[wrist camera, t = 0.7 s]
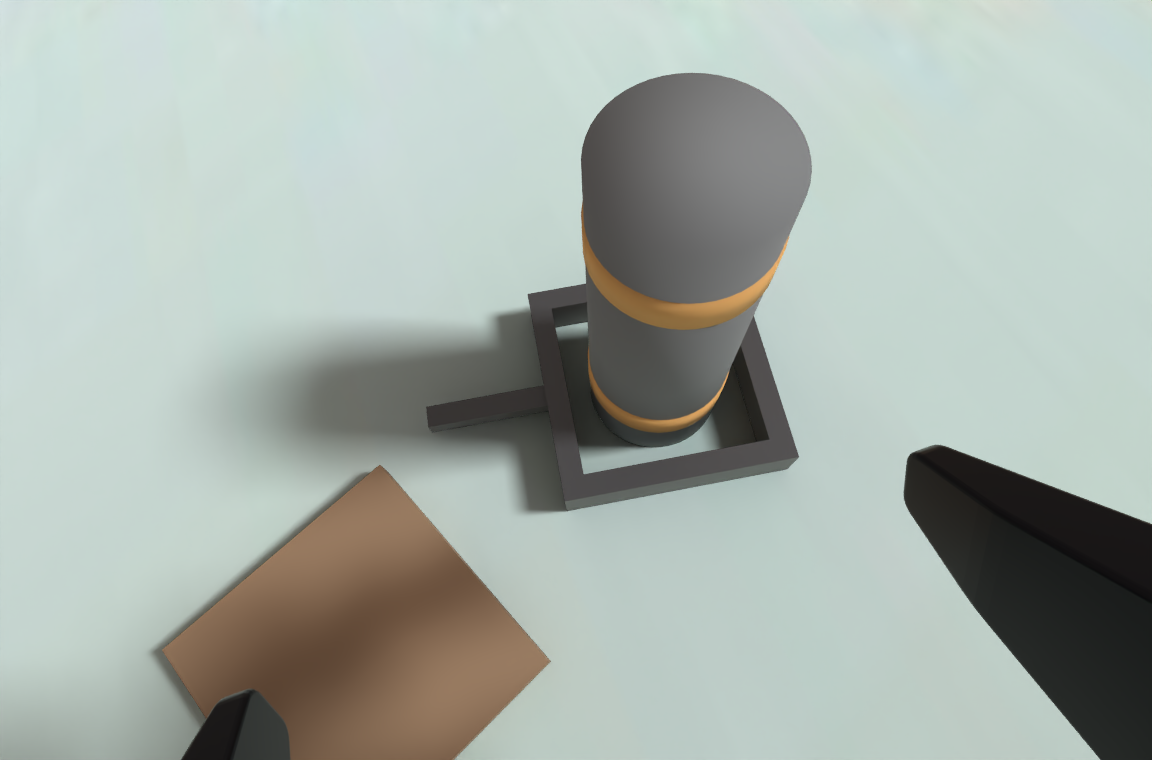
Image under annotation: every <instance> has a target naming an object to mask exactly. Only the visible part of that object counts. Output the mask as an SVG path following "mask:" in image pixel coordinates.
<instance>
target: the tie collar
mask: <svg viewBox="0 0 1152 760" xmlns="http://www.w3.org/2000/svg"><path fill="white" fill-rule="evenodd" d="M528 299H529V304H530V310H531V316H532V321H533V327H534V332H535V338H536V344H537V349H538V355H539V360H540V366H541V371H542V377H543V383H544V386H538V387H533V388H527V389H522V390H516V391H511V392H505V393H500V394H494V395H489V396H483V397H478V398H473V399H467V400H462V401H456V402H451V403H445V404H440V405H434V406H429V407H426V408H427V418H428V427H429V429H430V430H431V431H432V432H437V431H442V430H448V429H453V428H459V427H464V426H469V425H475V424H480V423H486V422H491V421H496V420H502V419H507V418H513V417H518V416H524V415H529V414H534V413H540V412H545V411H549V416H550V422H551V427H552V433H553V439H554V444H555V450H556V455H557V461H558V467H559V472H560V478H561V483H562V489H563V495H564V500H565V505H566V509H567V511H570V510H575V509H580V508H586V507H591V506H596V505H601V504H607V503H612V502H617V501H622V500H628V499H633V498H638V497H643V496H649V495H654V494H659V493H664V492H670V491H675V490H680V489H685V488H691V487H696V486H701V485H706V484H712V483H717V482H722V481H727V480H733V479H738V478H743V477H748V476H754V475H759V474H764V473H769V472H775V471H780V470H785V469H788V468H789V467H790V466H791V465H792V464H793V463H794V462H795V461H796V460H797V459H798V458H799V456H798V452H797V449H796V446H795V443H794V440H793V437H792V434H791V431H790V428H789V424H788V421H787V418H786V415H785V412H784V409H783V406H782V403H781V400H780V396H779V393H778V390H777V387H776V384H775V381H774V378H773V375H772V371H771V368H770V365H769V362H768V359H767V356H766V353H765V350H764V347H763V343H762V340H761V337H760V334H759V331H758V328H757V325H756V322H755V318H754V315H753V318H752V320H751V322H750V325H749V327H748V329H747V331H746V334H745V336H744V338H743V340H742V343H741V345H740V347H739V349H738V352H737V354H736V356H735V358H734V361H733V364H734V368H735V371H736V374H737V378H738V381H739V384H740V388H741V391H742V395H743V398H744V401H745V405H746V408H747V411H748V415H749V418H750V421H751V425H752V428H753V431H754V435H755V438H756V441H757V442H754V443H749V444H743V445H738V446H733V447H727V448H722V449H717V450H711V451H706V452H701V453H696V454H690V455H685V456H680V457H674V458H669V459H664V460H658V461H653V462H648V463H643V464H637V465H632V466H627V467H621V468H616V469H611V470H605V471H600V472H595V473H590V474H583V469H582V464H581V459H580V454H579V448H578V443H577V438H576V433H575V428H574V422H573V417H572V412H571V407H570V402H569V396H568V391H567V386H566V381H565V376H564V371H563V365H562V360H561V355H560V350H559V345H558V339H557V334H556V329H555V327H559V326H565V325H570V324H576V323H581V322H587V321H588V313H587V289H586V284H582V285H576V286H571V287H565V288H559V289H554V290H548V291H542V292H537V293H531V294H528Z"/></svg>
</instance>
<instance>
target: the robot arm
mask: <svg viewBox="0 0 1152 760" xmlns="http://www.w3.org/2000/svg"><path fill="white" fill-rule="evenodd" d="M904 500H905V504H906V506H907V508H908V510H909V512H910V514H911V515H912V517H913V518H914V520H915V521H916V523H917V524H918V526H919V527H920V529H921V530H922V532H923V533H924V535H925V536H926V537H927V539H928V540H929V542H930V543H931V545H932V546H933V548H934V549H935V551H936V552H937V554H938V555H939V557H940V558H941V560H942V561H943V563H944V564H945V566H946V567H947V569H948V570H949V572H950V573H951V575H952V576H953V578H954V579H955V581H956V582H957V584H958V585H959V587H960V588H961V590H962V591H963V592H964V594H965V595H966V597H967V598H968V599H969V601H970V602H971V604H972V605H973V606H974V608H975V609H976V610H977V611H978V613H979V614H980V615H981V616H982V618H983V619H984V620H985V621H986V623H987V624H988V625H989V626H990V627H991V629H992V630H993V631H994V632H995V633H996V635H997V636H998V637H999V638H1000V639H1001V641H1002V642H1003V643H1004V644H1005V645H1006V647H1007V648H1008V649H1009V650H1010V651H1011V653H1012V654H1013V655H1014V656H1015V657H1016V659H1017V660H1018V661H1019V662H1020V663H1021V665H1022V666H1023V667H1024V668H1025V669H1026V671H1027V672H1028V673H1029V674H1030V675H1031V677H1032V678H1033V679H1034V680H1035V682H1036V683H1037V684H1038V685H1039V686H1040V688H1041V689H1042V690H1043V691H1044V692H1045V694H1046V695H1047V696H1048V697H1049V698H1050V700H1051V701H1052V702H1053V703H1054V704H1055V706H1056V707H1057V708H1058V709H1059V710H1060V712H1061V713H1062V714H1063V715H1064V716H1065V718H1066V719H1067V720H1068V721H1069V722H1070V724H1071V725H1072V726H1073V727H1074V728H1075V730H1076V731H1077V732H1078V733H1079V734H1080V736H1081V737H1082V738H1083V739H1084V740H1085V742H1086V743H1087V744H1088V745H1089V746H1090V748H1091V749H1092V750H1093V751H1094V752H1095V754H1096V755H1097V756H1098V757H1099V758H1100V760H1152V524H1150V523H1148V522H1145V521H1142V520H1140V519H1137V518H1134V517H1132V516H1129V515H1126V514H1124V513H1121V512H1119V511H1116V510H1113V509H1111V508H1108V507H1105V506H1103V505H1100V504H1097V503H1095V502H1092V501H1089V500H1087V499H1084V498H1081V497H1079V496H1076V495H1073V494H1071V493H1068V492H1065V491H1063V490H1060V489H1057V488H1055V487H1052V486H1050V485H1047V484H1044V483H1042V482H1039V481H1036V480H1034V479H1031V478H1028V477H1026V476H1023V475H1020V474H1018V473H1015V472H1012V471H1010V470H1007V469H1004V468H1002V467H999V466H996V465H994V464H991V463H988V462H986V461H983V460H981V459H978V458H975V457H973V456H970V455H967V454H965V453H962V452H959V451H957V450H954V449H951V448H949V447H946V446H942V445H933V446H929V447H927V448H924V449H921V450H918V451H915V452H913V453H911V454H910V456H909V457H908V459H907V465H906V475H905V485H904ZM181 760H291V757H290V741H289V733H288V729H287V726H286V724H285V721H284V720H283V718H282V717H281V716H280V715H279V714H278V713H277V711H276V710H275V709H274V708H273V707H272V706H271V705H270V703H269V702H268V701H267V700H266V699H265V698H264V697H263V696H262V694H261V693H260V692H259V691H257V690H255V689H252V688H251V689H246V690H243V691H240V692H238V693H235V694H232V695H229V696H226V697H224V698H222V699H221V700H220V701H218V703H217V704H216V705H215V706H214V707H213V709H212V710H211V712H210V714H209V715H208V717H207V718H206V720H205V722H204V723H203V725H202V727H201V728H200V730H199V731H198V733H197V735H196V736H195V738H194V739H193V741H192V743H191V744H190V746H189V747H188V749H187V751H186V752H185V754H184V755H183V757H182V759H181Z"/></svg>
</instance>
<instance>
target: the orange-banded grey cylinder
mask: <svg viewBox="0 0 1152 760" xmlns="http://www.w3.org/2000/svg"><path fill="white" fill-rule="evenodd" d="M581 169H582V193H583V202H582V211H581V219H582V241H583V255H584V260H585V265H586V289H587V313H588V337H589V346H588V370H589V379H590V385H591V397H592V402H593V405H594V408H595V410H596V412H597V414H598V416H599V418H600V419H601V420H602V422H603V423H604V424H605V425H606V427H607V428H608V429H609V430H611V431H612V432H613V433H614V434H616V435H617V436H619V437H620V438H622V439H624V440H626V441H628V442H630V443H633V444H636V445H641V446H646V447H663V446H669V445H673V444H676V443H679V442H681V441H683V440H685V439H687V438H688V437H690V436H692V435H693V434H694V433H695V432H697V431H698V430H699V429H700V428H701V427H702V425H703V424H704V423H705V421H706V420H707V418H708V417H709V415H710V413H711V410H712V408H713V406H714V405H715V403H716V402H717V400H718V398H719V396H720V394H721V391H722V389H723V387H724V385H725V382H726V380H727V377H728V374H729V370H730V367H731V365H732V363H733V361H734V358H735V356H736V354H737V352H738V349H739V347H740V345H741V343H742V340H743V338H744V336H745V334H746V331H747V329H748V327H749V325H750V322H751V320H752V318H753V315H754V313H755V311H756V309H757V306H758V304H759V302H760V300H761V297H762V295H763V293H764V292H765V290H766V289H767V287H768V286H769V284H770V282H771V280H772V277H773V275H774V273H775V271H776V269H777V266H778V264H779V262H780V260H781V258H782V255H783V253H784V251H785V249H786V246H787V242H788V239H789V234H790V232H791V230H792V227H793V225H794V223H795V221H796V218H797V216H798V214H799V212H800V209H801V207H802V205H803V202H804V200H805V198H806V196H807V193H808V189H809V186H810V181H811V173H812V166H811V156H810V151H809V147H808V144H807V141H806V139H805V136H804V134H803V132H802V131H801V129H800V127H799V125H798V124H797V122H796V121H795V120H794V119H793V117H792V116H791V115H790V114H789V113H788V112H787V110H786V109H785V108H784V107H783V106H782V105H780V104H779V103H778V102H777V101H775V100H774V99H773V98H772V97H770V96H769V95H767V94H765V93H764V92H762V91H760V90H759V89H757V88H755V87H753V86H750V85H748V84H746V83H743V82H741V81H738V80H735V79H732V78H727V77H723V76H719V75H712V74H704V73H681V74H672V75H666V76H661V77H657V78H654V79H650V80H647V81H645V82H642V83H639V84H637V85H635V86H633V87H631V88H629V89H627V90H625V91H624V92H622V93H621V94H619V95H618V96H616V97H615V98H614V99H613V100H612V101H610V102H609V103H608V104H607V105H606V106H605V107H604V108H603V109H602V110H601V111H600V113H599V114H598V115H597V116H596V118H595V119H594V121H593V122H592V124H591V125H590V128H589V130H588V132H587V134H586V137H585V140H584V144H583V147H582V156H581Z"/></svg>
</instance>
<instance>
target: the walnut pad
mask: <svg viewBox="0 0 1152 760" xmlns="http://www.w3.org/2000/svg"><path fill="white" fill-rule="evenodd" d="M162 651H163V652H164V654H165V656H166V657H167V659H168V660H169V662H170V663H171V665H172V666H173V668H174V669H175V671H176V673H177V674H178V676H179V677H180V679H181V680H182V682H183V683H184V685H185V686H186V688H187V690H188V691H189V693H190V694H191V696H192V697H193V699H194V700H195V702H196V703H197V705H198V707H199V708H200V710H201V711H202V713H203V714H204V716H205V717H206V718H207V717H208V715H209V714H210V712H211V710H212V709H213V707H214V706H215V705H216V704H217V703H218V701H220V700H221V699H222V698H224V697H226V696H229V695H232V694H235V693H238V692H240V691H243V690H246V689H251V688H252V689H255V690H257V691H259V692H260V693H261V694H262V696H263V697H264V698H265V699H266V700H267V701H268V702H269V703H270V705H271V706H272V707H273V708H274V709H275V710H276V711H277V713H278V714H279V715H280V716H281V717H282V718H283V720H284V721H285V724H286V726H287V729H288V733H289V741H290V757H291V760H454V759H455V758H456V757H457V756H458V755H459V754H460V753H461V752H462V751H463V750H464V749H465V748H466V747H467V746H468V745H469V744H470V743H471V742H472V741H473V740H474V739H475V738H476V737H477V736H478V735H479V734H480V733H481V732H482V731H483V730H484V728H485V727H486V726H487V725H488V724H489V723H490V722H491V721H492V720H493V719H494V718H495V717H496V716H497V715H498V714H499V713H500V712H501V711H502V710H503V709H504V708H505V707H506V706H507V705H508V704H509V703H510V702H511V701H512V700H513V699H514V698H515V697H516V696H517V695H518V694H519V693H520V692H521V691H522V690H523V689H524V688H525V687H526V686H527V685H528V684H529V683H530V682H531V681H532V680H533V679H534V678H535V677H536V676H537V675H538V674H539V673H540V672H541V671H542V670H543V669H544V668H545V667H546V666H547V665H548V664H549V663H550V662H551V661H550V660H549V659H548V658H547V656H546V655H545V654H544V653H543V652H542V651H541V649H540V648H539V647H538V646H537V645H536V644H535V642H534V641H533V640H532V639H531V638H530V637H529V636H528V634H527V633H526V632H525V631H524V630H523V629H522V627H521V626H520V625H519V624H518V623H517V622H516V620H515V619H514V618H513V617H512V616H511V615H510V613H509V612H508V611H507V610H506V609H505V608H504V606H503V605H502V604H501V603H500V602H499V601H498V599H497V598H496V597H495V596H494V595H493V594H492V592H491V591H490V590H489V589H488V588H487V587H486V585H485V584H484V583H483V582H482V581H481V580H480V579H479V577H478V576H477V575H476V574H475V573H474V572H473V570H472V569H471V568H470V567H469V566H468V565H467V563H466V562H465V561H464V560H463V559H462V558H461V556H460V555H459V554H458V553H457V552H456V551H455V549H454V548H453V547H452V546H451V545H450V544H449V542H448V541H447V540H446V539H445V538H444V537H443V535H442V534H441V533H440V532H439V531H438V530H437V528H436V527H435V526H434V525H433V524H432V523H431V521H430V520H429V519H428V518H427V517H426V516H425V515H424V513H423V512H422V511H421V510H420V509H419V508H418V506H417V505H416V504H415V503H414V502H413V501H412V499H411V498H410V497H409V496H408V495H407V494H406V492H405V491H404V490H403V489H402V488H401V487H400V485H399V484H398V483H397V482H396V481H395V480H394V478H393V477H392V476H391V475H390V474H389V473H388V472H387V471H386V470H385V469H384V468H383V467H382V466H381V465H379V466H378V467H376V468H375V469H374V470H373V471H372V472H371V473H369V474H368V475H367V476H366V477H365V478H364V479H362V480H361V481H360V482H359V483H358V484H356V485H355V486H354V487H353V488H352V489H351V490H349V491H348V492H347V493H346V494H345V495H344V496H342V497H341V498H340V499H339V500H338V501H336V502H335V503H334V504H333V505H332V506H331V507H329V508H328V509H327V510H326V511H325V512H324V513H322V514H321V515H320V516H319V517H318V518H316V519H315V520H314V521H313V522H312V523H311V524H309V525H308V526H307V527H306V528H305V529H304V530H302V531H301V532H300V533H299V534H298V535H296V536H295V537H294V538H293V539H292V540H291V541H289V542H288V543H287V544H286V545H285V546H284V547H282V548H281V549H280V550H279V551H278V552H276V553H275V554H274V555H273V556H272V557H271V558H269V559H268V560H267V561H266V562H265V563H263V564H262V565H261V566H260V567H259V568H258V569H256V570H255V571H254V572H253V573H252V574H251V575H249V576H248V577H247V578H246V579H245V580H243V581H242V582H241V583H240V584H239V585H238V586H236V587H235V588H234V589H233V590H232V591H231V592H229V593H228V594H227V595H226V596H225V597H223V598H222V599H221V600H220V601H219V602H218V603H216V604H215V605H214V606H213V607H212V608H211V609H209V610H208V611H207V612H206V613H205V614H203V615H202V616H201V617H200V618H199V619H198V620H196V621H195V622H194V623H193V624H192V625H191V626H189V627H188V628H187V629H186V630H185V631H183V632H182V633H181V634H180V635H179V636H178V637H176V638H175V639H174V640H173V641H172V642H171V643H169V644H168V645H167V646H166V647H165V648H163V649H162Z"/></svg>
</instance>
